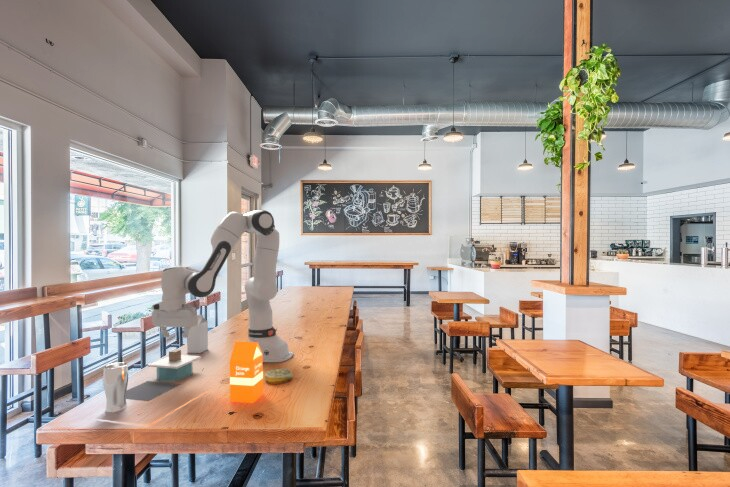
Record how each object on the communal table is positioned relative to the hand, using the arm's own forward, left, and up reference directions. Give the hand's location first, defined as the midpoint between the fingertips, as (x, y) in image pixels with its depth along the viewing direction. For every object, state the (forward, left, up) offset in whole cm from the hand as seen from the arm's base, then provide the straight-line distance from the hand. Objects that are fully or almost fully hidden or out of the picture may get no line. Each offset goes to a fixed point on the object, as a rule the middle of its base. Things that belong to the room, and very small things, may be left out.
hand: (175, 337), depth 154 cm
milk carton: (+16, -34, -17) cm, 41 cm away
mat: (-2, +16, -16) cm, 23 cm away
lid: (0, 0, -10) cm, 10 cm away
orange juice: (-42, +13, -17) cm, 47 cm away
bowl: (0, 0, -16) cm, 16 cm away
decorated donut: (-45, -5, -17) cm, 48 cm away
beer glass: (-4, +31, -17) cm, 36 cm away
